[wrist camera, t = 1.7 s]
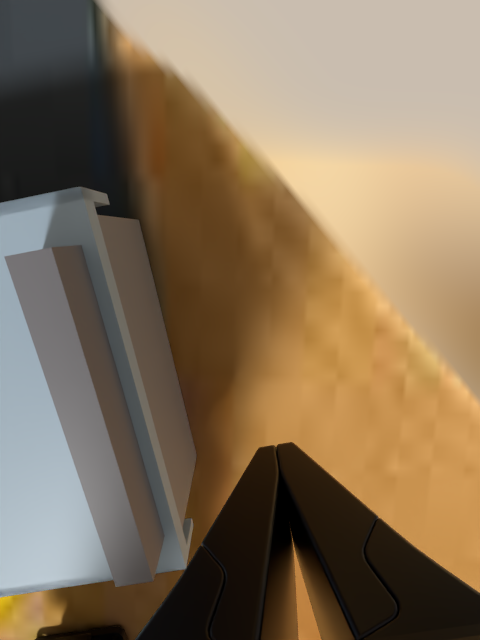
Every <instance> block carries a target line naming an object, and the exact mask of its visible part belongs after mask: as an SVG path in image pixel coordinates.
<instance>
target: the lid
mask: <svg viewBox="0 0 480 640" xmlns="http://www.w3.org/2000/svg"><path fill="white" fill-rule="evenodd" d="M105 205H110V204H109V200H108V196H107V194H105V193H102V192H98V191H95V190H91V189H88V188H84V187H81V186H80V187H75V188H70V189H65V190H61V191H56V192H51V193H46V194H41V195H36V196H31V197H27V198H22V199H17V200H12V201H7V202H2V203H0V597H5V596H12V595H18V594H25V593H31V592H38V591H45V590H51V589H58V588H64V587H71V586H78V585H84V584H91V583H97V582H104V581H110V580H114V583H115V586H116V587H119V586H126V585H133V584H139V583H146V582H152V581H154V577H155V574H157V573H163V572H170V571H176V570H183V569H186V568H187V561H188V555H189V549H190V543H191V537H192V531H193V521H192V518H188V519H184V524H183V529H182V525H181V522H180V518H179V514H178V511H177V507H176V503H175V500H174V496H173V492H172V489H171V485H170V481H169V478H168V474H167V470H166V467H165V463H164V459H163V455H162V452H161V448H160V444H159V441H158V437H157V433H156V430H155V426H154V422H153V419H152V415H151V411H150V408H149V404H148V400H147V396H146V393H145V389H144V385H143V382H142V378H141V374H140V371H139V367H138V363H137V360H136V356H135V352H134V349H133V345H132V341H131V338H130V334H129V330H128V326H127V323H126V319H125V315H124V312H123V308H122V304H121V301H120V297H119V293H118V290H117V286H116V282H115V279H114V275H113V271H112V268H111V264H110V260H109V256H108V253H107V249H106V245H105V242H104V238H103V234H102V231H101V227H100V223H99V220H98V216H97V212H96V209H95V207H100V206H105Z"/></svg>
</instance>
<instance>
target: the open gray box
mask: <svg viewBox="0 0 480 640" xmlns="http://www.w3.org/2000/svg"><path fill="white" fill-rule="evenodd" d="M97 216H98V220H99V223H100V227H101V231H102V234H103V238H104V242H105V245H106V249H107V253H108V256H109V260H110V264H111V268H112V271H113V275H114V279H115V282H116V286H117V290H118V293H119V297H120V301H121V304H122V308H123V312H124V315H125V319H126V323H127V326H128V330H129V334H130V338H131V341H132V345H133V349H134V352H135V356H136V360H137V363H138V367H139V371H140V374H141V378H142V382H143V385H144V389H145V393H146V396H147V400H148V404H149V408H150V411H151V415H152V419H153V422H154V426H155V430H156V433H157V437H158V441H159V444H160V448H161V452H162V455H163V459H164V463H165V467H166V470H167V474H168V478H169V481H170V485H171V489H172V492H173V496H174V500H175V503H176V507H177V511H178V514H179V518H180V522H181V525H182V529H183V524H184V519H185V514H186V509H187V504H188V499H189V493H190V488H191V483H192V478H193V473H194V468H195V463H196V458H197V454H196V450H195V446H194V442H193V438H192V434H191V430H190V426H189V421H188V417H187V413H186V409H185V405H184V401H183V397H182V393H181V389H180V385H179V381H178V377H177V373H176V369H175V365H174V361H173V357H172V352H171V348H170V344H169V340H168V336H167V332H166V328H165V324H164V320H163V316H162V312H161V308H160V304H159V300H158V296H157V292H156V287H155V283H154V279H153V275H152V271H151V267H150V263H149V259H148V255H147V251H146V247H145V243H144V239H143V235H142V231H141V227H140V222H139V220H136V219H128V218H120V217H112V216H103V215H97Z"/></svg>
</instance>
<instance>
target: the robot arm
mask: <svg viewBox="0 0 480 640" xmlns="http://www.w3.org/2000/svg"><path fill="white" fill-rule="evenodd" d="M276 449H277V450H276ZM289 522H290V523H289ZM290 528H291V529H290ZM291 533H292V534H291ZM292 538H293V541H292ZM293 543H294V547H295V551H296V555H297V558H298V562H299V565H300V569H301V572H302V575H303V579H304V582H305V585H306V589H307V592H308V595H309V599H310V602H311V605H312V609H313V612H314V616H315V619H316V622H317V626H318V629H319V632H320V636H321V639H322V640H480V593H479V592H478V591H476V590H475V589H473V588H472V587H470V586H469V585H468V584H466V583H465V582H463V581H462V580H460V579H459V578H457V577H456V576H455V575H453V574H452V573H450V572H449V571H447V570H446V569H445V568H443V567H442V566H440V565H439V564H438V563H436V562H435V561H434V560H432V559H431V558H429V557H428V556H427V555H425V554H424V553H423V552H421V551H420V550H418V549H417V548H416V547H414V546H413V545H412V544H411V543H410V542H408V541H407V540H406V539H405V538H403V537H402V536H401V535H400V534H399V533H397V532H396V531H395V530H394V529H392V528H391V527H390V526H389V525H388V524H387V523H386V522H384V521H383V520H382V519H381V518H379V517H378V516H377V515H376V514H375V513H374V512H373V511H372V510H370V509H369V508H368V507H367V506H366V505H365V504H363V503H362V502H361V501H360V500H359V499H358V498H357V497H355V496H354V495H353V494H352V493H351V492H350V491H348V490H347V489H346V488H345V487H344V486H343V485H342V484H340V483H339V482H338V481H337V480H336V479H335V478H333V477H332V476H331V475H330V474H329V473H328V472H327V471H325V470H324V469H323V468H322V467H321V466H320V465H318V464H317V463H316V462H315V461H314V460H313V459H312V458H310V457H309V456H308V455H307V454H306V453H305V452H303V451H302V450H301V449H300V448H299V447H298V446H297V445H295V444H294V443H292V442H289V443H283V444H278V445H277V447H275V446H274V445H271V446H265V447H260V448H259V449H258V450H257V452H256V453H255V455H254V457H253V458H252V460H251V462H250V463H249V465H248V467H247V468H246V470H245V472H244V473H243V475H242V477H241V478H240V480H239V482H238V483H237V485H236V487H235V488H234V490H233V492H232V493H231V495H230V497H229V498H228V500H227V502H226V503H225V505H224V507H223V508H222V510H221V512H220V513H219V515H218V517H217V518H216V520H215V522H214V523H213V525H212V527H211V528H210V530H209V532H208V533H207V535H206V537H205V538H204V540H203V542H202V544H201V546H200V547H199V548H198V550H197V551H196V553H195V555H194V556H193V558H192V560H191V561H190V563H189V565H188V566H187V568H186V569H185V571H184V572H183V574H182V575H181V577H180V579H179V580H178V582H177V583H176V585H175V586H174V587H173V589H172V590H171V592H170V593H169V594H168V596H167V597H166V599H165V600H164V601H163V603H162V604H161V606H160V607H159V608H158V610H157V611H156V612H155V614H154V615H153V616H152V618H151V619H150V620H149V622H148V623H147V624H146V626H145V627H144V628H143V630H142V631H141V632H140V634H139V635H138V636H137V638H136V639H135V640H298V623H297V604H296V585H295V565H294V550H293ZM35 640H127V637H126V634H125V631H124V629H123V628H121V627H118V626H115V627H109V628H102V629H95V630H88V631H81V632H74V633H67V634H60V635H54V636H47V637H40V638H36V639H35Z"/></svg>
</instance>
